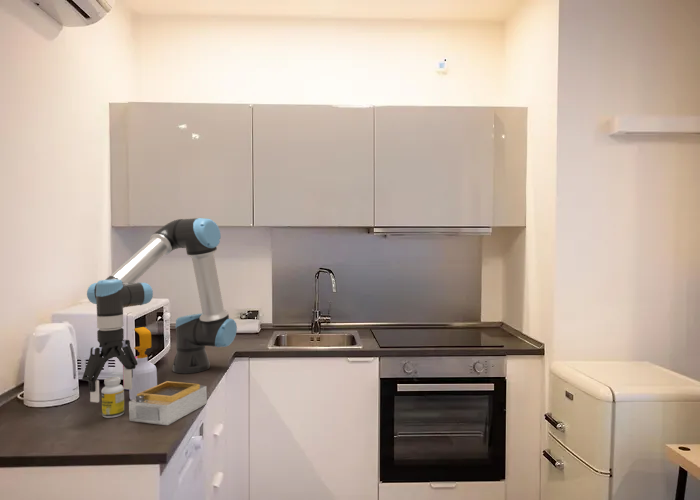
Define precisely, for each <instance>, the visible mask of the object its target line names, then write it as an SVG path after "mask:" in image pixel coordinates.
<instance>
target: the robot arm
mask: <svg viewBox="0 0 700 500" xmlns="http://www.w3.org/2000/svg"><path fill="white" fill-rule="evenodd" d="M220 243H221V230H220V227H219V225H218V224H217V223H216V222H215V221H214V220H213V219H210V218H203V217H198V218H197V217H194V218H180V219H179V218H178V219H175V220H172V221H170V222H168V223H166V224H165V225H164V226H161V228H159V229H157V230H156V231H155V232H154V233H153V234H152V235H150V237H149V241H148V242H147V243H145V244H144V245H143V246H142V247H141V248H140V249H139V250H138V251H136V252H135V253H134V254H133V255H132V256H131V257H129V258H128V259H127V260H126V261H125V262H123V264H121V265H120V266H119V267H118V268H117V269H116V270H115V271H114V272H113V273H111V274H110V275H109V276H107V278H105V279H101V280H98V281H97V282H94V283H92V284H90V285H89V286H88V288H87V291H86V297H87V300H88V301H89V302H90V303H92V304H93V305H94V304H95V305H96V328H97V332H96V333H97V334H96V335H97V336H96V337H97V342H98V344H99V346H98V347H95V346H93V347H91V348H90V352H89V353H90V354H89V358H88V360H87V362H86V363H87V364H86V366H85V369H84V372H83V375H82V377H81V380H82V381H86V382H88V392H89V394H90V398H89V401H90V403H100V380H98V378H99V377H100V376H99V375H100V374H101V373H102V371H103V368H104V367H105V364H106V363H107V362H108V361H109V360H110V359H111V360H112V359H113V358H117V360H118V361H119V362H120V363H121V364H122V366H123V365H124V367H125V368H126V369H123V368H122V376H123V377H124V389H129V390H131V389H132V377H133V369H135V367H136V366H135V365H137V361H136V358H135V354H134V352H133V350H132V347H131V341H130V340H129V339H124V338H125V337H124V336H125V335H124V334H125V332H124V331H125V330H124V328H123V327H124V308H129V307H130V308H131V307H137V306H143V305H146V304H149V303H150V302H151V301H152V300H153V295H154V292H153V288H152V286H151V285H150V284H149V283H147V282H136V281H138V280H139V279H140V278H141V277H142V276H143V275H144V274H145V273H146V272H148V271H149V269H151V267H153V265H155V264H156V263H157V262H158V261H159V260H160V259H161V258H162V257H163V256H165V255H170V253H171V252H173V251H174V250H177V249H185V251H186V254H187V256H188V257H190V258H191V261H192V265H193V266H192V267H193V271H194V276H195V282H196V286H197V292H198V298H199V302H200V306H201V313H196V314H195V313H194V314H189V315H183V316H179V317H177V318H176V320H175V328H174V329H175V342H176V343H175V345H176V352H175V356H174V360H173V363H172V372H174V373H176V374H177V373H178V374H194V373H200V372H204V371H206V370H208V369H210V367H211V366H210V359H209V357H208V354H207V351H206V347H215V348H225V347H226V348H227V347H229V346H230V345H231V344H233V342H234V340H235V338H236V335H237V330H238V327H237V326H238V325H237V322H236V321H235V320H234V319H232V318H230V316H229V311H227V310H226V309H224V304H223V299H222V293H221V287H220V282H219V281H220V280H219V276H218V271H217V264H216V259H215V253H216V252H217V249H218V246H219V244H220ZM132 361H133V362H132ZM129 390H128V391H129Z"/></svg>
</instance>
